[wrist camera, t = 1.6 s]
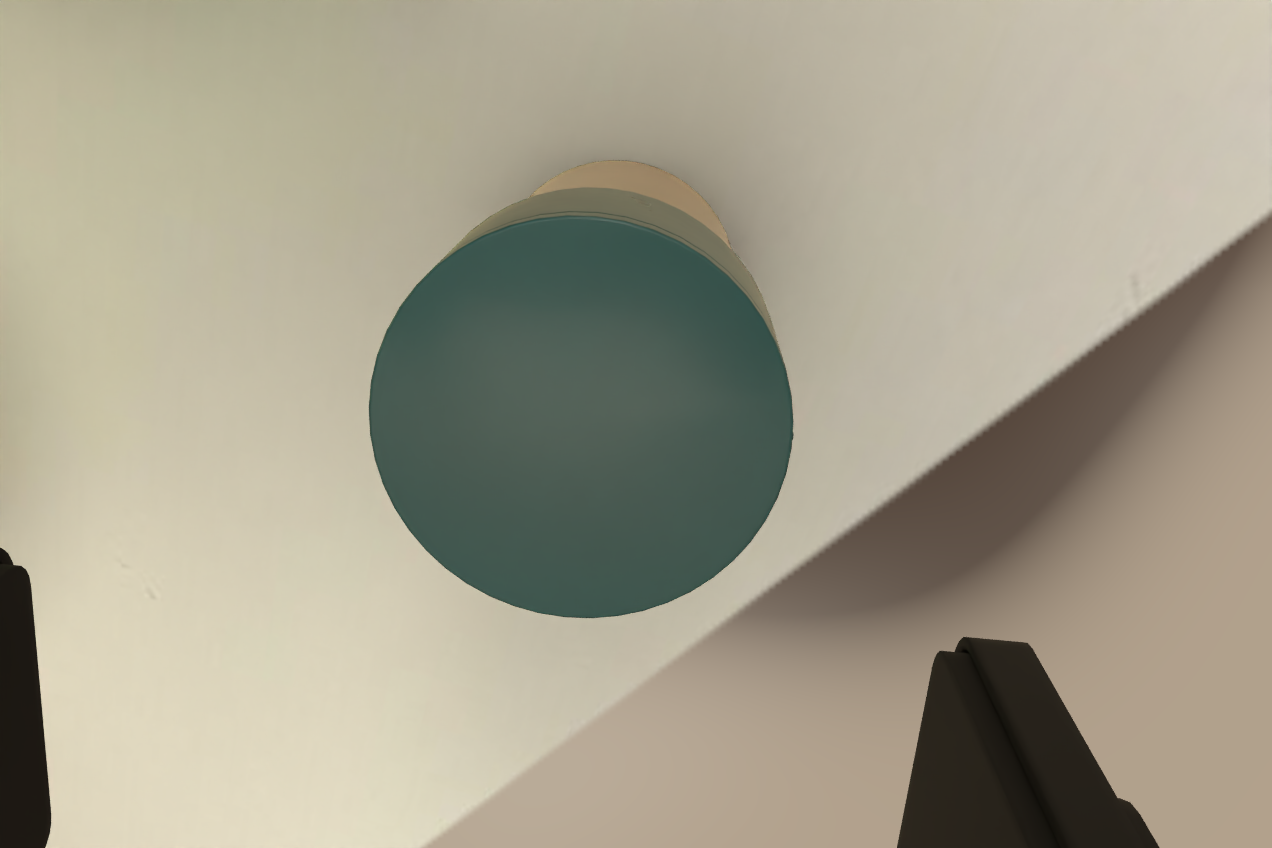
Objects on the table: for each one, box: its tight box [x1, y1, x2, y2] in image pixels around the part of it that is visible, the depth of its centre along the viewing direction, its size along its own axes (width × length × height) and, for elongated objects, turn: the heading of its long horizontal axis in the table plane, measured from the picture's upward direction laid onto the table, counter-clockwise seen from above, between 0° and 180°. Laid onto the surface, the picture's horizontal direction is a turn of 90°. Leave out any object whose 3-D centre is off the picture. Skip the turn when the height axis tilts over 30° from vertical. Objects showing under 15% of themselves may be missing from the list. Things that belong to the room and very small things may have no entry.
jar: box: [529, 160, 732, 250], centre depth 25 cm, size 6×6×11 cm
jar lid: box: [369, 187, 794, 618], centre depth 21 cm, size 7×7×3 cm
